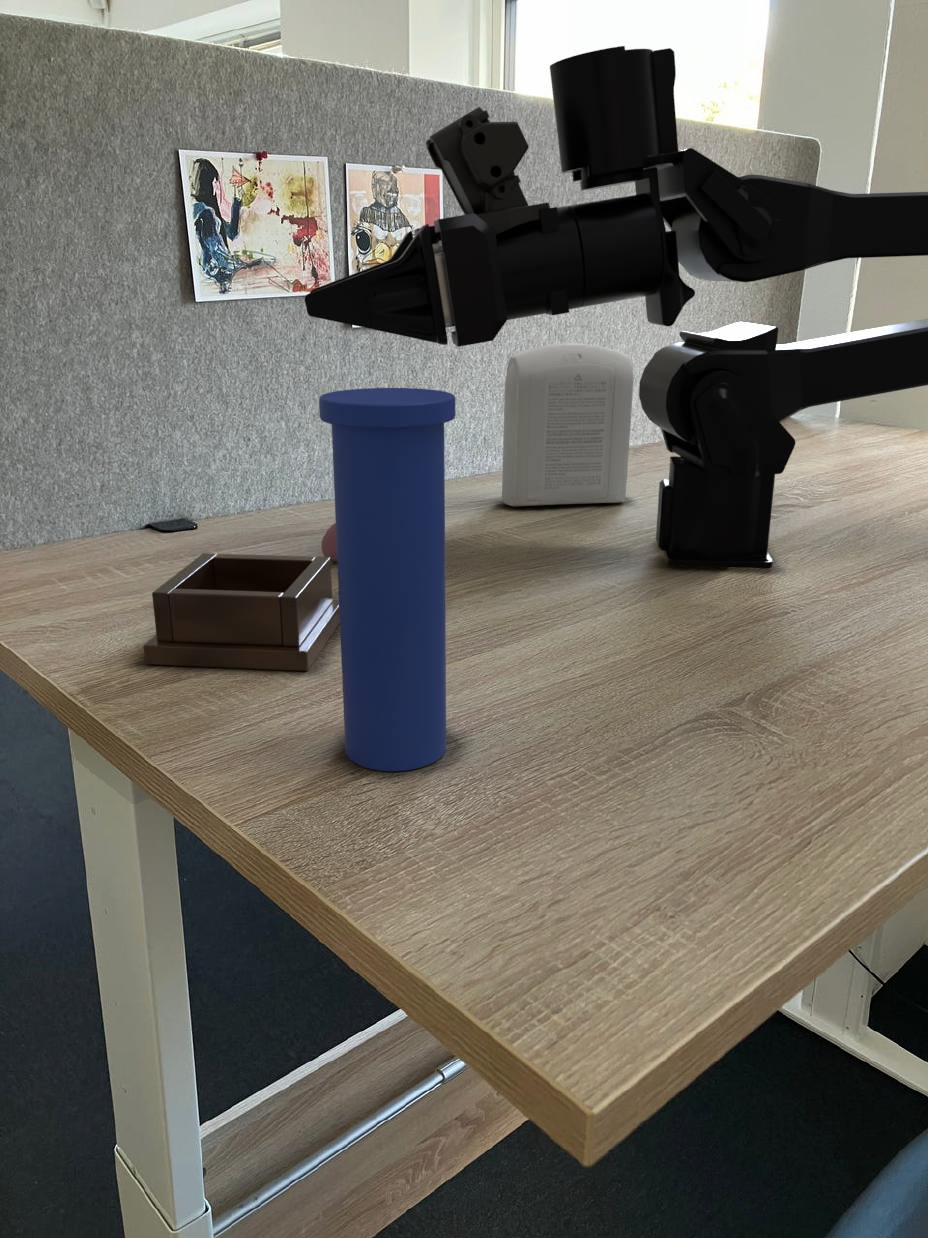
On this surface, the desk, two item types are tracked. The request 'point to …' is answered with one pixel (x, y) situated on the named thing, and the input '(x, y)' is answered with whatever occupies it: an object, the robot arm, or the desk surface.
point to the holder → (244, 613)
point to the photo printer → (566, 425)
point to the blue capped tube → (391, 571)
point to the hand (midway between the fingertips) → (308, 302)
